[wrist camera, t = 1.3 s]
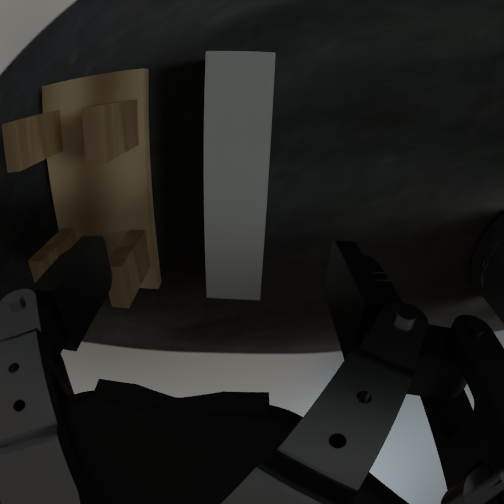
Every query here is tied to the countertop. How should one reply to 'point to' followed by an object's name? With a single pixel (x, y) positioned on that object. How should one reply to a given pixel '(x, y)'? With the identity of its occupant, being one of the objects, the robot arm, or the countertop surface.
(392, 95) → the countertop surface
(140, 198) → the rack
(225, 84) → the clay bar
